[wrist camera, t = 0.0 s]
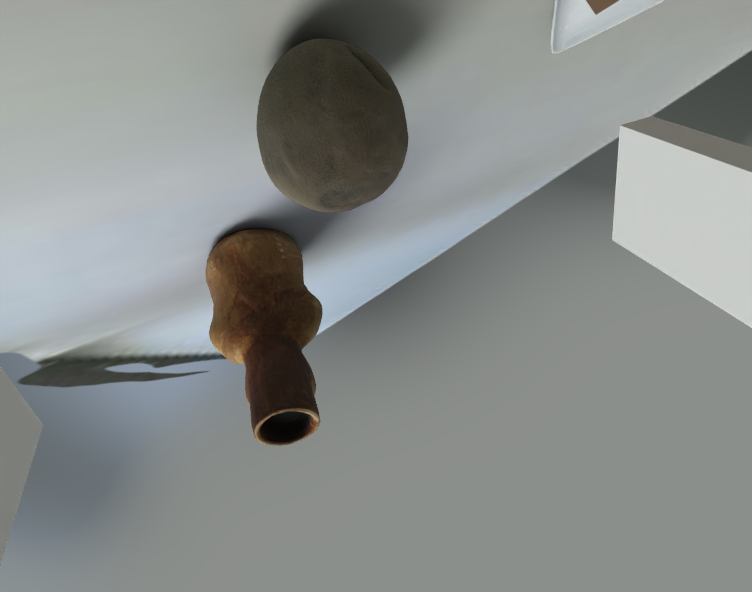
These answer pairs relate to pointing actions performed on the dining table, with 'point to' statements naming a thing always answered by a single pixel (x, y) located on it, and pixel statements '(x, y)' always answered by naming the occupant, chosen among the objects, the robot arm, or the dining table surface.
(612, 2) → the shelf
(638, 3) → the salad plate
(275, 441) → the ceramic vessel
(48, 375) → the dining table surface
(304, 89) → the cantaloupe
